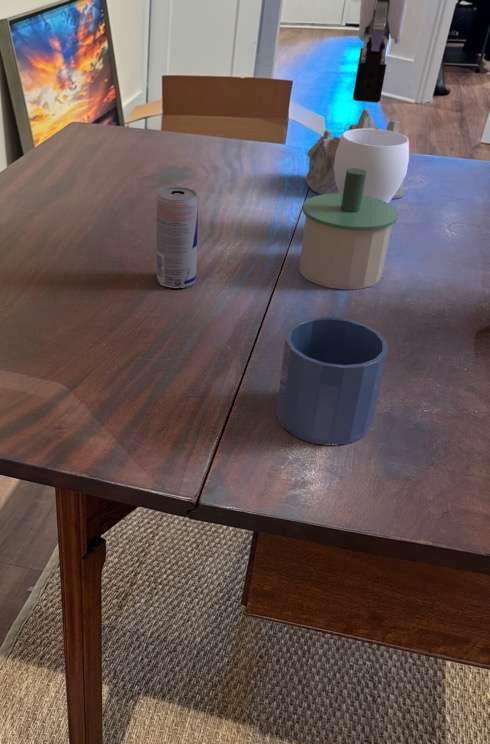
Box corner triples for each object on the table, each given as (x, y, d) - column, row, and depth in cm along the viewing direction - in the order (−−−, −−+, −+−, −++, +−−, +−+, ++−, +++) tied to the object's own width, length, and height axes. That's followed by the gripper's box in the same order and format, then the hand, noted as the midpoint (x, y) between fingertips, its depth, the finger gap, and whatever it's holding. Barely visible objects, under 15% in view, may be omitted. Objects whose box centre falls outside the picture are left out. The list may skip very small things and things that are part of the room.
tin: (342, 249, 108) (351, 193, 103) (398, 278, 100) (411, 218, 95) (283, 265, 103) (289, 206, 97) (337, 296, 95) (347, 235, 90)
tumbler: (327, 382, 79) (339, 308, 73) (390, 426, 72) (408, 349, 67) (258, 408, 74) (265, 332, 69) (318, 457, 68) (332, 378, 62)
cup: (330, 221, 117) (345, 124, 107) (396, 231, 114) (416, 132, 105) (317, 245, 109) (331, 142, 100) (387, 256, 106) (408, 151, 97)
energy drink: (196, 273, 100) (199, 187, 92) (195, 290, 95) (197, 201, 88) (158, 272, 100) (158, 185, 92) (155, 289, 96) (154, 199, 88)
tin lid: (351, 195, 104) (358, 151, 100) (417, 223, 95) (427, 177, 92) (282, 210, 98) (287, 164, 94) (346, 242, 90) (354, 193, 86)
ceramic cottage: (415, 197, 126) (429, 105, 118) (332, 209, 123) (339, 114, 114) (372, 176, 139) (381, 91, 130) (295, 186, 135) (299, 98, 126)
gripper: (434, -75, 70) (398, 111, 81) (427, -80, 84) (397, 80, 94) (358, -79, 72) (332, 105, 82) (363, -84, 85) (340, 76, 96)
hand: (367, 92), depth 88 cm, fingers open, 9 cm apart
